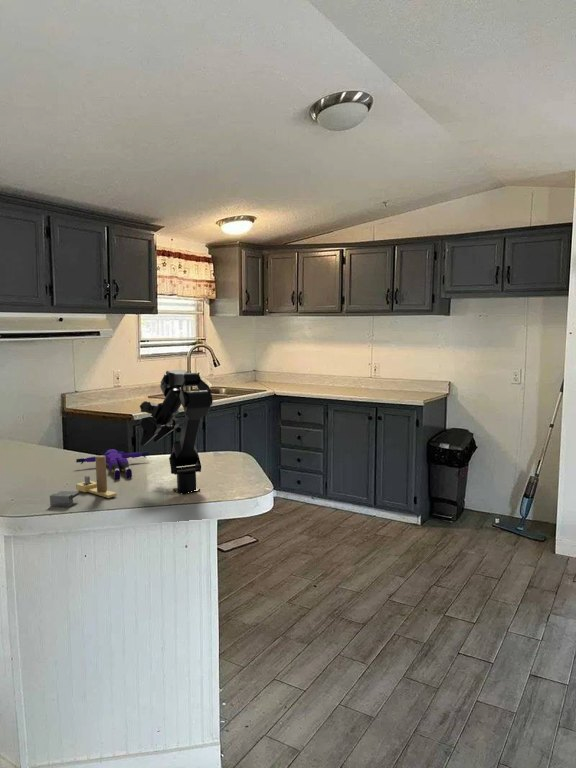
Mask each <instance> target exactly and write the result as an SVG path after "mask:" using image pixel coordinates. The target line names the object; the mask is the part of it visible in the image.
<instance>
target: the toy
mask: <svg viewBox="0 0 576 768" xmlns="http://www.w3.org/2000/svg"><path fill="white" fill-rule="evenodd" d="M101 456H106V464H108V467H109V470H110V471H111V473H114V474H113V476H114V480H116V481H117V480H120V479H121V471H122V472H125V476H126V479H132V477H133V471H132V469H131V468H130V466H129V464H130V463H129V459H130V458H131V459H134V458H140V457H144V458H147V456H150V451H146V452H145V451H144V452H131V453H125V452H124V451H118V450H116V449H115V448H114V449H113V448H112V449H111V448H110V449H108V450H107V451H106V452H105V453H103V454H102V455H101ZM95 457H96V456H91V457H90V456H88V457H86V458H83V457H82V458H76V460H75V463H80V465H82V464H84V463H85V462H87V463H94V462H95V463H96V458H95Z"/></svg>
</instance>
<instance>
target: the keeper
mask: <svg viewBox="0 0 576 768" xmlns="http://www.w3.org/2000/svg"><path fill="white" fill-rule="evenodd" d="M80 494H81V491H78V490H76V491H74V490H72V491H71V490H69V491H68V490H61V491H59V492H57V493H52V494H51V495H49V504H50V506H49V507H56V508H59V507H60V508H71V507H72V506H73V505H74V500H73V499H75V498H76V497H78V496H79V495H80Z"/></svg>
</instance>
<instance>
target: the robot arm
mask: <svg viewBox="0 0 576 768" xmlns="http://www.w3.org/2000/svg"><path fill="white" fill-rule="evenodd" d="M187 387H196V388H197V389H198V390H189V391H187V390H185V389H186V388H187ZM160 390H161V392H162V394H163V395H164V399H163V401H162V402H160V403H159V402H158V403H155V402H150V401H147V400H144V401H143V402H141V404H140V405H139V408H140V412H141V413H147V414H150V416H145V417H142V418H141V419H140V421H139V425H140V427H141V428H142V435H141V439H140V446H142V447H144V446H145V445H146V444H147V443H149V442H150V441H151V440H152V441H153V442H154V443H158V442H159V441H160V440H161V439H163V438H164V437H166V436H167V435H169V434H170V433H172V431H174V430H175V429H177V428H178V427H179V425H180V420H179V419H178V418H177V417H175V416H176V415H178V414H179V413H180V411H179V409H180V408H181V406H182V408H183V411H184V420H183V426H182V431H181V435H180V440H175V441H174V442H173V445H172V448H171V449H172V451H171V452H170V455H169V457H168V459H169V465H170V466H169V467H170V474H171V475H175V476H176V488H173V490H172V491H174V492H176V491H177V493H179V494H181V493H182V494H181V495H186V494H185V493H187V494H189V493H188V492H191V491H194V490H196V487H197V473H198V472H199V473H200V472H201V473H202V464H201V459H200V456H199V452H198V450H197V446H196V443H197V438H198V434H199V429H200V425H201V421H202V418H204V417H205V416H206V415H207V414H209V412H210V409H211V406H212V405H213V395H212V391H211V389H210V386H209V385H208V384H207V383H206V382H205V381H203V380H202V378H201V376H200V373H197V372H188V370H186V369H180V370H179V369H177V370H173V369H172V370H166V371H165V373H164V374H163V377H162V378H161V381H160Z"/></svg>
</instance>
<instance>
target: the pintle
mask: <svg viewBox="0 0 576 768" xmlns="http://www.w3.org/2000/svg"><path fill="white" fill-rule="evenodd" d="M83 478H84V482H85V485H88V484H90V481H91V477H90V475H85V476H84V477H83ZM80 493H87V492H83V491H80Z"/></svg>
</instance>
